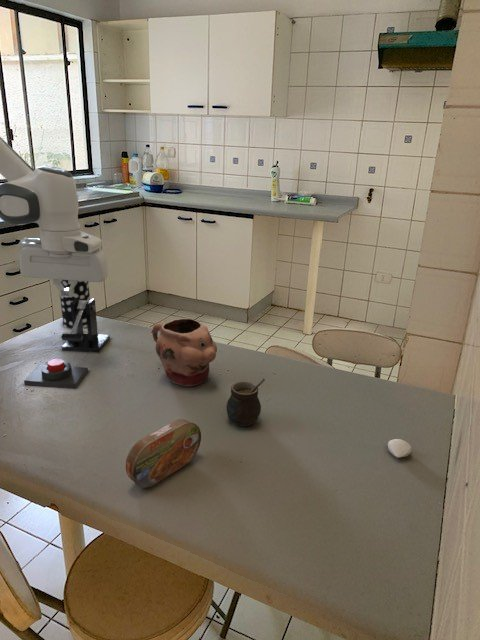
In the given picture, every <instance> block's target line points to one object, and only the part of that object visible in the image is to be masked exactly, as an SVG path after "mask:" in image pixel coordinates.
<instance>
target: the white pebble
mask: <svg viewBox="0 0 480 640" xmlns="http://www.w3.org/2000/svg"><path fill="white" fill-rule="evenodd" d="M387 448H388V451H389V452H390V453H391V454H392V455H393V456H394V457H396V458H398V459H400V458H404V457H408V456H409V455H410V454H411V453H412V446H411V445H410V444H409V443H408V442H407V441H406V440H403V439H400V438H394V439H391V440H389V441H388V443H387Z"/></svg>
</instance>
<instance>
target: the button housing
mask: <svg viewBox="0 0 480 640" xmlns="http://www.w3.org/2000/svg"><path fill="white" fill-rule="evenodd" d="M63 361H64V369H62V370H60V371H55V372H54V371H49V370H48V365H47V363H45V364H39V365H38V366H37V367H36V368H34V370H33V371H32V372H31V373H30V374H29V375H28V376H27V377H26V378H25V379H24V380H23V383H24V386H33V387H50V388H63V389H77V387H78V386H79V385H80V384H81V382H82V381H83V379H84V378H85V376H87V374H88V373H89V367H85V366H72V365H71V363H70V362H69V361H66V360H63Z"/></svg>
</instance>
